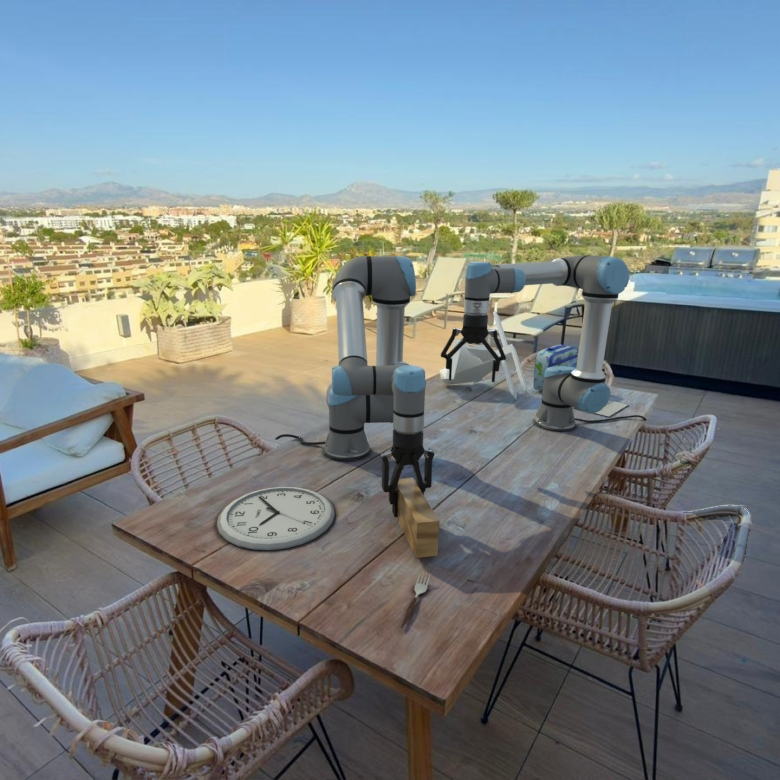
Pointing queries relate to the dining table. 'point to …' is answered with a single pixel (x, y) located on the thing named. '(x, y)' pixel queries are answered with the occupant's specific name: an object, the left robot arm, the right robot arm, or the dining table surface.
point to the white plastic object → (482, 363)
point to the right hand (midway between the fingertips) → (471, 380)
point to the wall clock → (275, 518)
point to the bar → (417, 519)
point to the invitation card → (611, 408)
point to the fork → (419, 589)
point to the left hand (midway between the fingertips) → (405, 513)
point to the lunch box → (553, 361)
